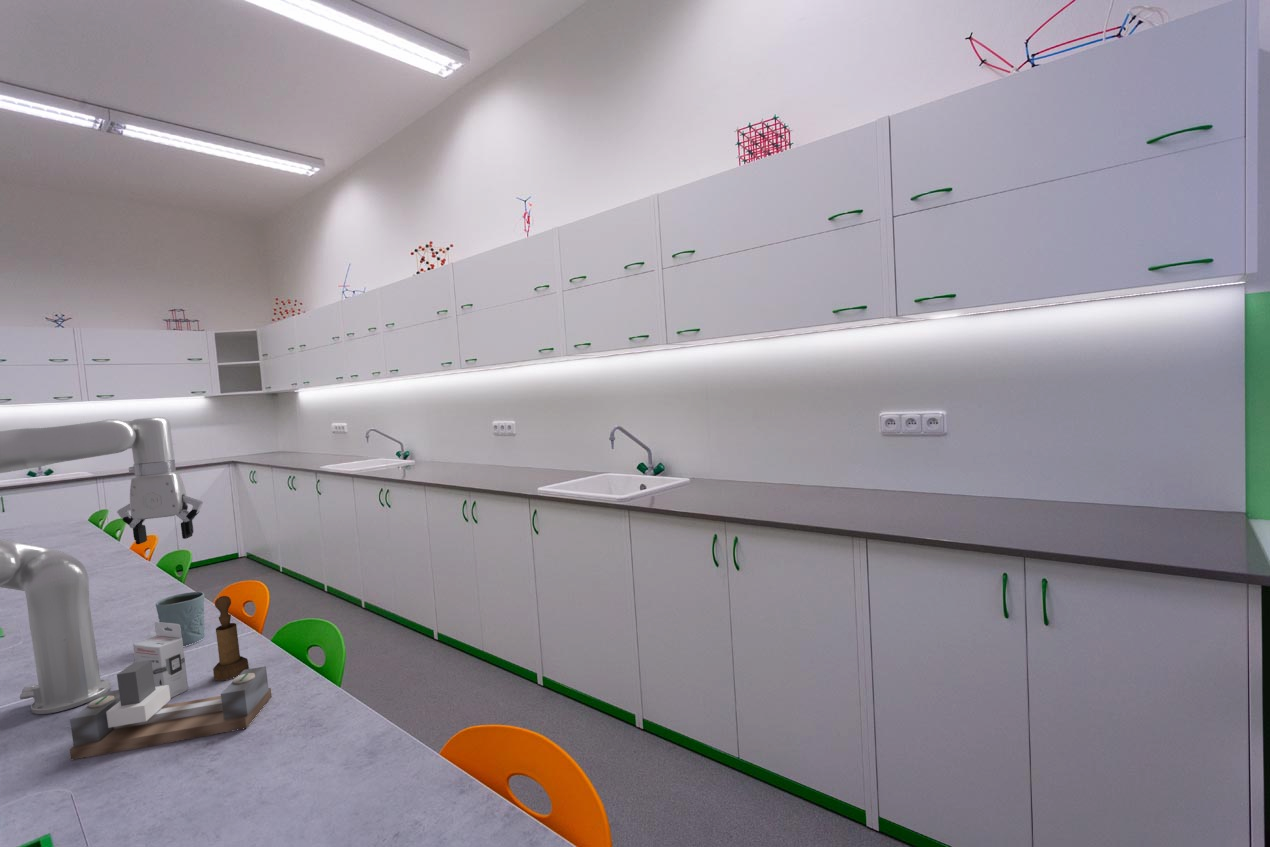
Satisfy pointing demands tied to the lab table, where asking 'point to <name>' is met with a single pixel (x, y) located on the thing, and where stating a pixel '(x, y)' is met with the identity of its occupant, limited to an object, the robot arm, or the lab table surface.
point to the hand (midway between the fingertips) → (164, 540)
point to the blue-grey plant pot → (184, 615)
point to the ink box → (165, 657)
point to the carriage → (137, 695)
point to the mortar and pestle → (227, 644)
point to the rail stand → (170, 718)
